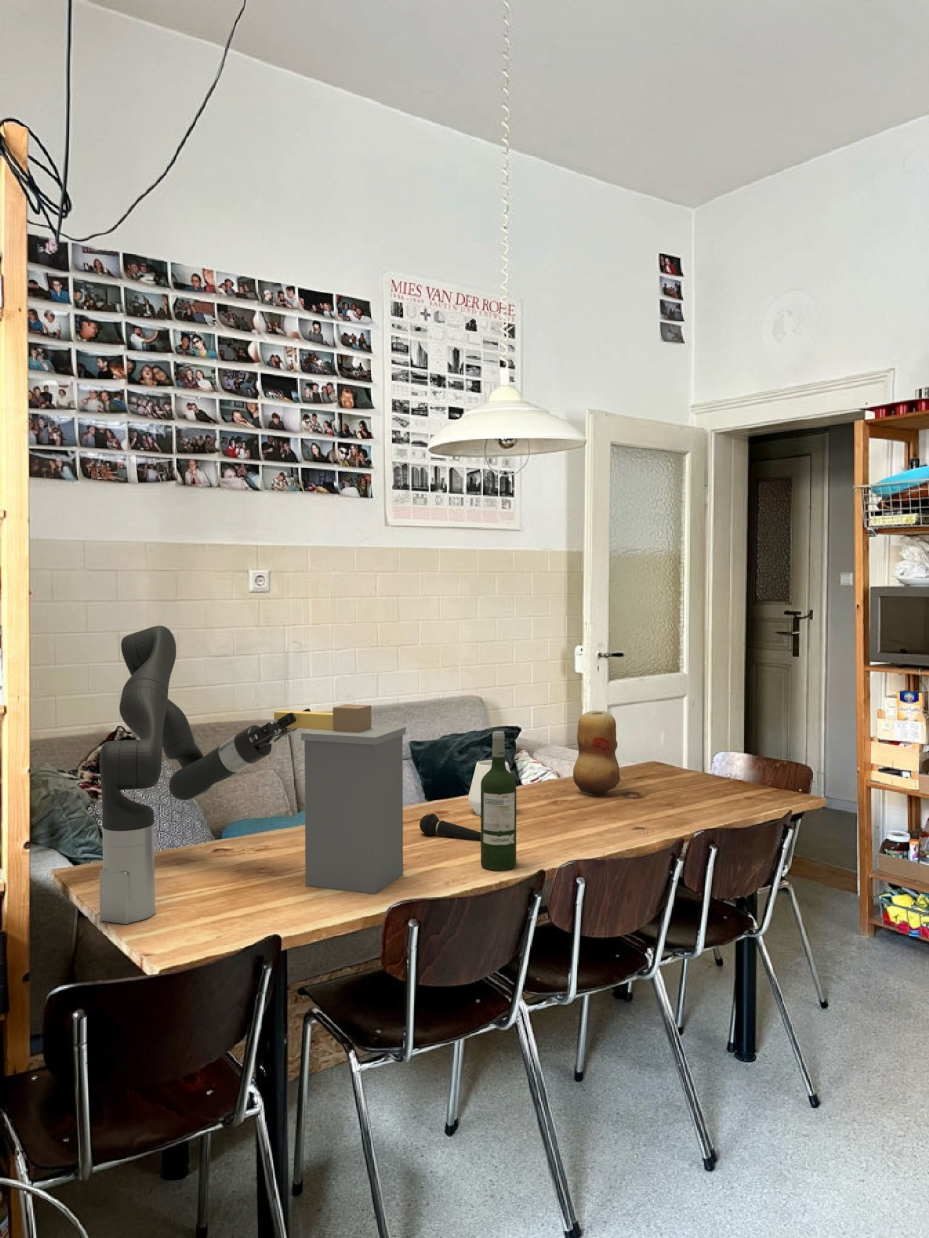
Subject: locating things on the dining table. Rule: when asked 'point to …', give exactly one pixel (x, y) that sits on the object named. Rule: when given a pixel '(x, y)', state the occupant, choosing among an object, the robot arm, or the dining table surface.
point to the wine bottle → (498, 812)
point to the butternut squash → (596, 753)
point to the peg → (332, 718)
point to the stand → (354, 808)
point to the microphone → (446, 828)
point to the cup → (479, 784)
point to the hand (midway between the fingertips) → (302, 714)
